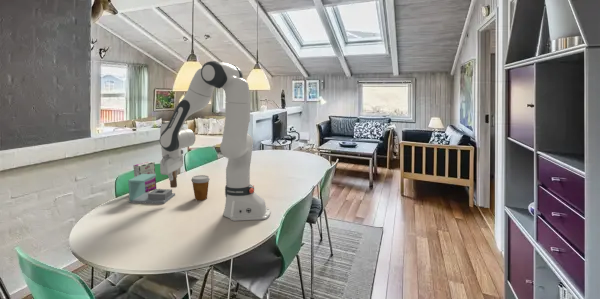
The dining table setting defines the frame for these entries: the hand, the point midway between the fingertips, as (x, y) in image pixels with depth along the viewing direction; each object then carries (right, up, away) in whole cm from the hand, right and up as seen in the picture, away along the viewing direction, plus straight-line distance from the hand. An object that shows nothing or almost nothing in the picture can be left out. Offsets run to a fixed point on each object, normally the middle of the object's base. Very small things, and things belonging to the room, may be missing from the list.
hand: (173, 179), depth 167 cm
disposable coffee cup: (+12, -12, +8) cm, 18 cm away
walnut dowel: (0, -4, +1) cm, 4 cm away
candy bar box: (-24, -9, +19) cm, 32 cm away
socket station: (-13, -11, +5) cm, 18 cm away
